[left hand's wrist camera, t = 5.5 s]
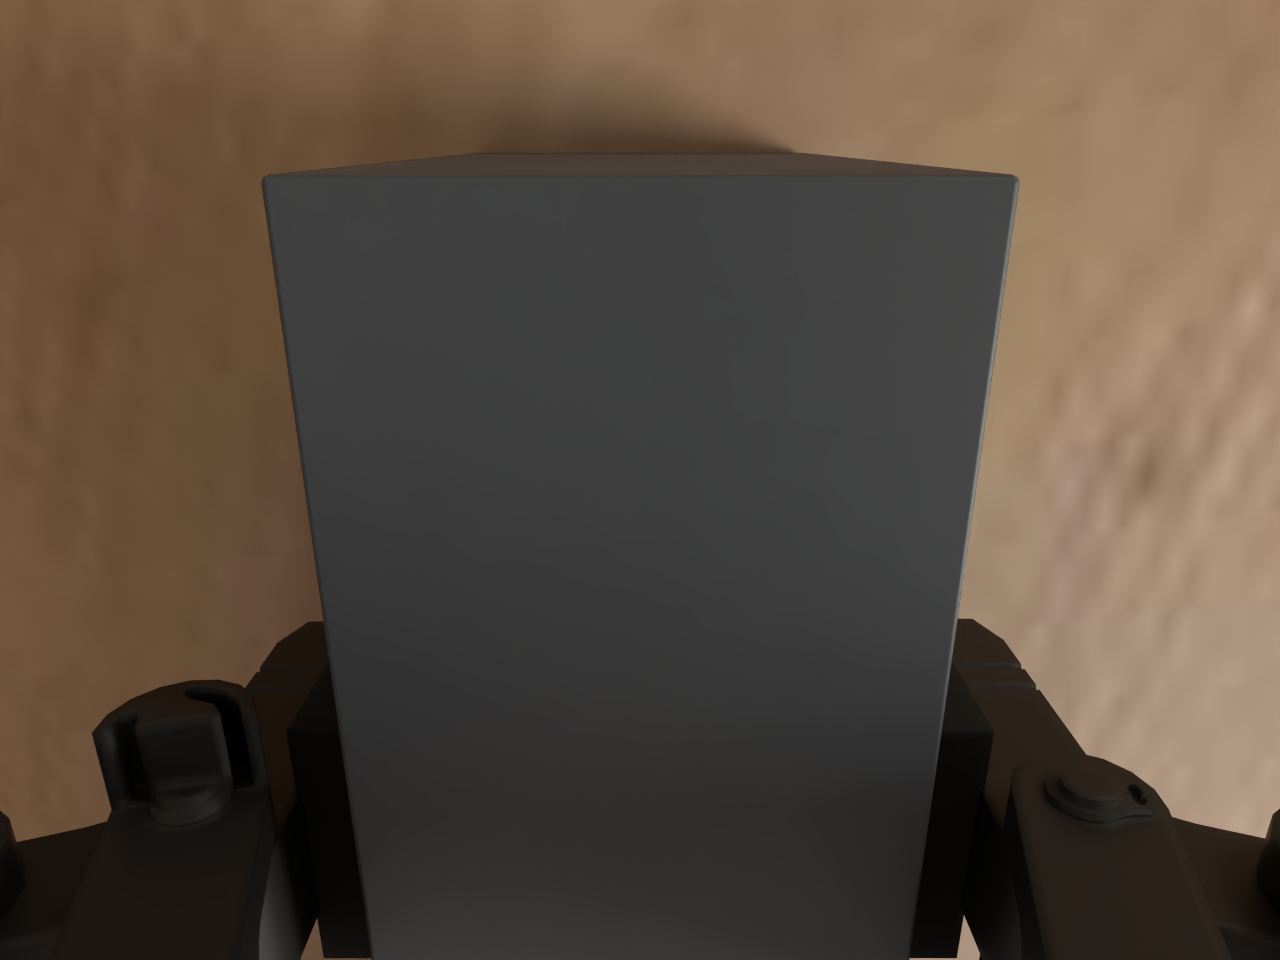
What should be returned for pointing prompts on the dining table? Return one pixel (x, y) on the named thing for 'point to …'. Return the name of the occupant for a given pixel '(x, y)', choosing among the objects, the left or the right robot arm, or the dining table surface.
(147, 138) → the dining table surface
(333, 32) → the dining table surface
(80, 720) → the dining table surface
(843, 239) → the beam
